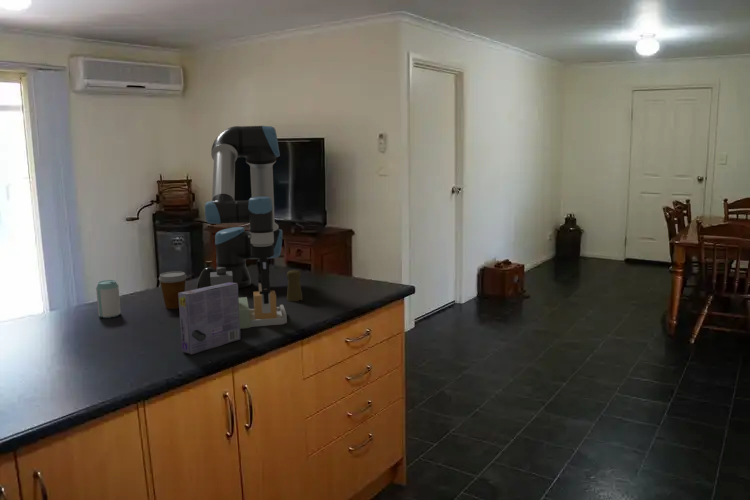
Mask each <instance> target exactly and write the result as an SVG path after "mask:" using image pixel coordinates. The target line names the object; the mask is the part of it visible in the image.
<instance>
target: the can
mask: <svg viewBox="0 0 750 500" xmlns="http://www.w3.org/2000/svg"><path fill="white" fill-rule="evenodd" d="M95 290H96V301H97V312H98V313H97V314H98V316H99V317H100V318H102V317H103V319H112V318H111V317H113V318H116V317H119V315H120V314H121V312H122V311H121V310H122V309H121V299H120V290H119V284H118V282H117V280H113V279H106V280H100V281H98V282H97V285H96V287H95Z"/></svg>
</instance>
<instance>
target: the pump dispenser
mask: <svg viewBox="0 0 750 500" xmlns="http://www.w3.org/2000/svg"><path fill="white" fill-rule="evenodd" d="M210 272H216V268H214V267H212V266H207V267H205V268H203V270H202V271H201V272H200V275H199V278H198V281H197V283H196V289H199V288H204V287H209V286H211V282H210Z"/></svg>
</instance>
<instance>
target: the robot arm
mask: <svg viewBox="0 0 750 500" xmlns="http://www.w3.org/2000/svg"><path fill="white" fill-rule="evenodd" d="M210 153H211V154H210V155H211V158H212V160H213V169H212V170H213V171H212V172H213V173H212V191H211V192H212V193H211V200H210V201H206V202H205V204H204V217H205V221H206V223H208V224H212V225H215V224H216V225H221V224H223V225H224V224H244V223H245V224H246V223H247V224H248V223H249V230H246V229H245V227H243V226H236V227H229V228H225V229H220V230H219V231H217V232H216V233H215V235H214V236H215V237H214V239H215V240H214V245H215V255H216V256H215V258H216V259H215V262H216V268H218V267H225V268H226V271H232V276H233V283H237V284H238V290H239V289H243V288H247V287H250V286H251V285H252V278H251V275H250V273H249V269H248V268H247V260H257V261H256V268H257V279H258V291H260V294H261V297H262V313H271V305H270V292H271V291H272V290H271V286H270V285H271V284H270V266H271V265H270V261H269V260H270V259H277V258H279V257H280V256H281V255H282V254H281V252H282V247H283V229H280V228H279V224H278V223H276V222H275V198H274V197H275V195H274V173H273V172H274V169H273V166H274V164H275V163H276V162H277V158H278V157H280V155H281V153H280V148H279V141H278V136H277V131H276V128H275V127H273V126H267V125H241V126H239V125H236V126H235V125H234V126H231V127H228V128H226V129H224V130H223V131H222V132H220V133H219V134H218V136H217V137H216V138H215V139H214V141H213V143H212V146H211V151H210ZM238 158H245V163H246V164H247V165H249V167H250V169H249V171H250V173H249V174H250V189H251V190H250V191H251V197H250V198H249V199H248V200H235V196H236V195H235V193H236V191H235V187H236V186H235V185H236V184H235V183H236V181H235V180H236V179H235V178H236V176H235V175H236V161H237V159H238Z"/></svg>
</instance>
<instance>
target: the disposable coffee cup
mask: <svg viewBox="0 0 750 500" xmlns="http://www.w3.org/2000/svg"><path fill="white" fill-rule="evenodd" d="M186 279H187V275H186V273H185V272H183V271H167V272H162V273H160V274H159V277H158V280H159V282H160V285H161V292H162V295H163V300H164V305H165V308H166V309H168V310H169V309H170V310H172V309H173V310H174V309H179V298H178V293H180V292H185V291H186V289H185V288H186Z"/></svg>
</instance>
